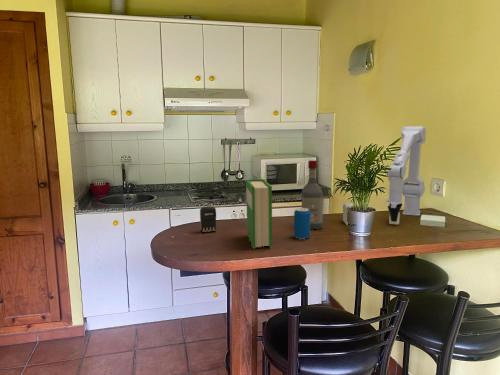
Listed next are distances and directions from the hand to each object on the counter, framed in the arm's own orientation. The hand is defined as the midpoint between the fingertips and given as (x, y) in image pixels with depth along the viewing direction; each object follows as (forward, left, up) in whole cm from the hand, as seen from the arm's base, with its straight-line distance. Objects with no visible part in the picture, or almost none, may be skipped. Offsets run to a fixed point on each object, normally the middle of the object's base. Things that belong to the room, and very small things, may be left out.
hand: (394, 220), depth 180 cm
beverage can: (+38, -32, -2) cm, 50 cm away
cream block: (0, 0, -1) cm, 1 cm away
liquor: (+21, -33, -2) cm, 39 cm away
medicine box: (+8, -19, -2) cm, 21 cm away
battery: (+46, -72, -2) cm, 85 cm away
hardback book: (+50, -46, -2) cm, 68 cm away
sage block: (-6, +16, -1) cm, 17 cm away
